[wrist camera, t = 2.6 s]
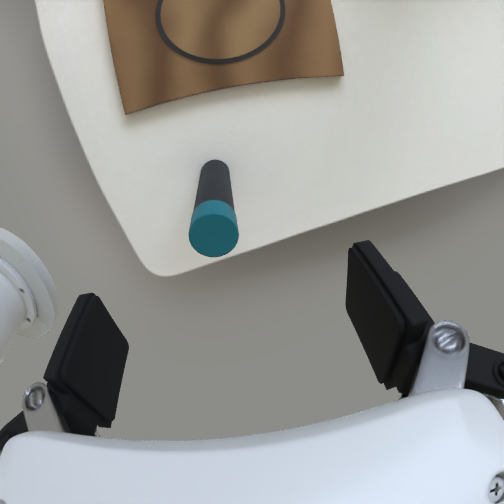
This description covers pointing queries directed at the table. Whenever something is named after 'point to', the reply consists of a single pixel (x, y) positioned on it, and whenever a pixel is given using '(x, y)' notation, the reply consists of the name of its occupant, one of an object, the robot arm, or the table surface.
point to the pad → (216, 45)
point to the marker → (214, 212)
